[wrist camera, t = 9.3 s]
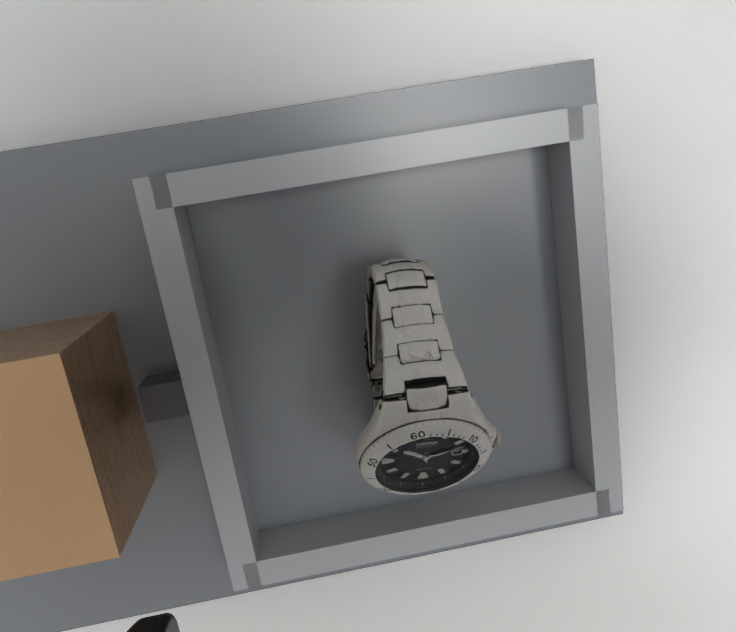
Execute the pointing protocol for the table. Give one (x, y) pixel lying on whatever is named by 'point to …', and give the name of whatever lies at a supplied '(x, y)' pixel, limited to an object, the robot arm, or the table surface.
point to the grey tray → (291, 340)
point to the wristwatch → (416, 388)
